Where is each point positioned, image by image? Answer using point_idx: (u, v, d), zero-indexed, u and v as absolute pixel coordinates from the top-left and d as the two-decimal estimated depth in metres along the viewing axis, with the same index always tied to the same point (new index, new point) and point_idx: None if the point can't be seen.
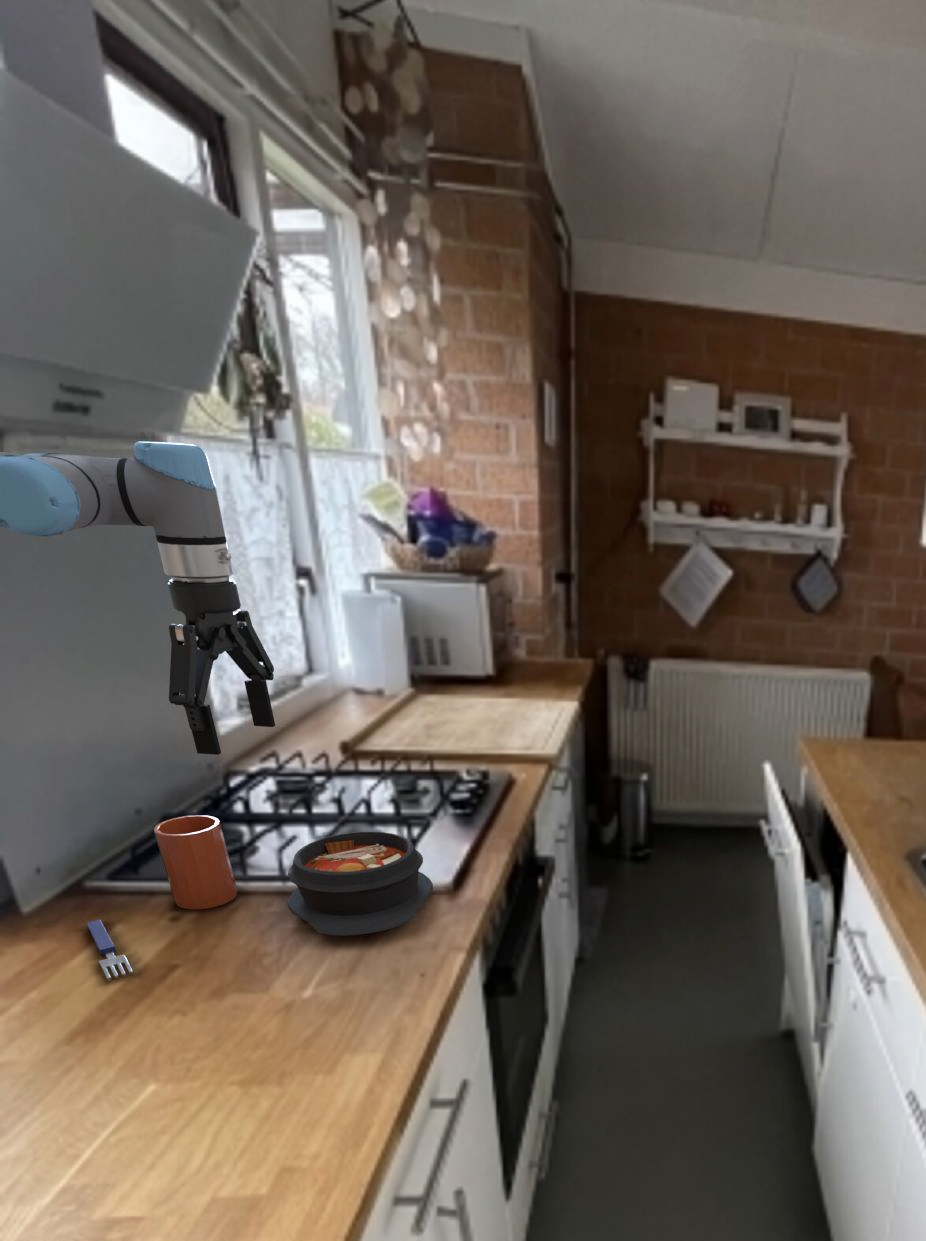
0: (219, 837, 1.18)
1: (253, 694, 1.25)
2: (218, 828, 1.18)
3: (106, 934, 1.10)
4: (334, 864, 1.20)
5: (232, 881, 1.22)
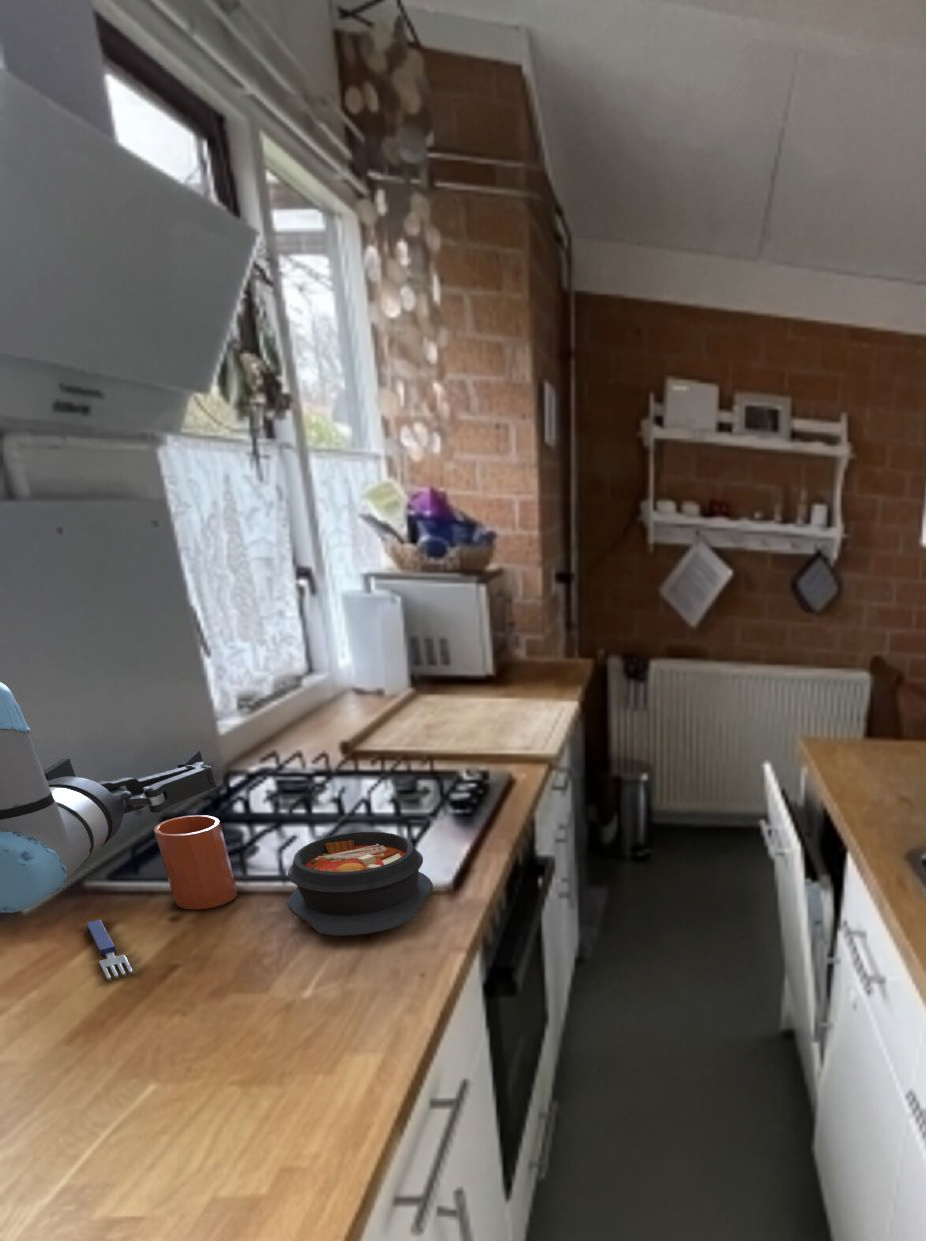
0: (219, 837, 1.18)
1: None
2: (218, 828, 1.18)
3: (106, 934, 1.10)
4: (334, 864, 1.20)
5: (232, 881, 1.22)
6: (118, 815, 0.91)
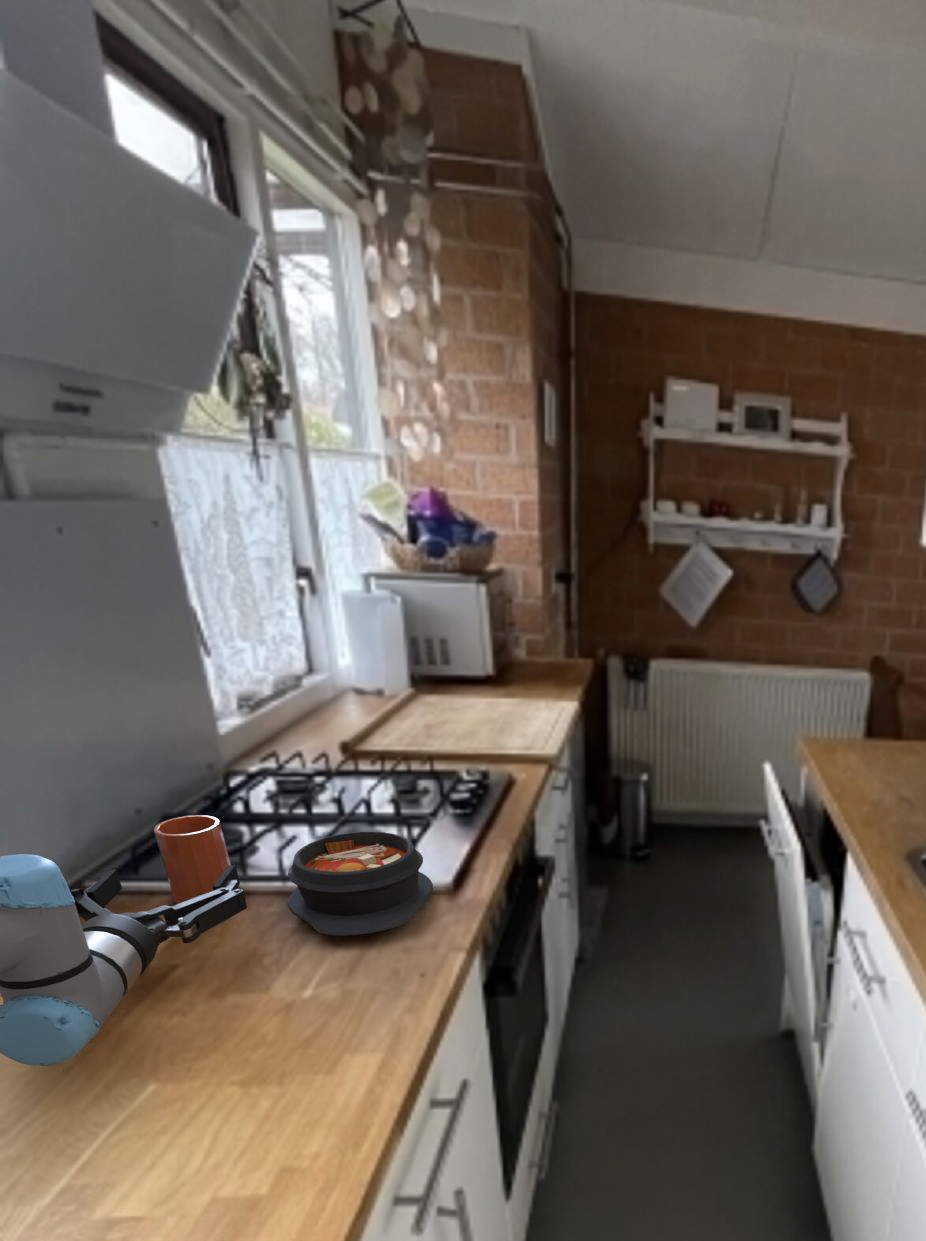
0: (219, 837, 1.18)
1: None
2: (218, 828, 1.18)
3: None
4: (334, 864, 1.20)
5: None
6: (153, 949, 0.98)
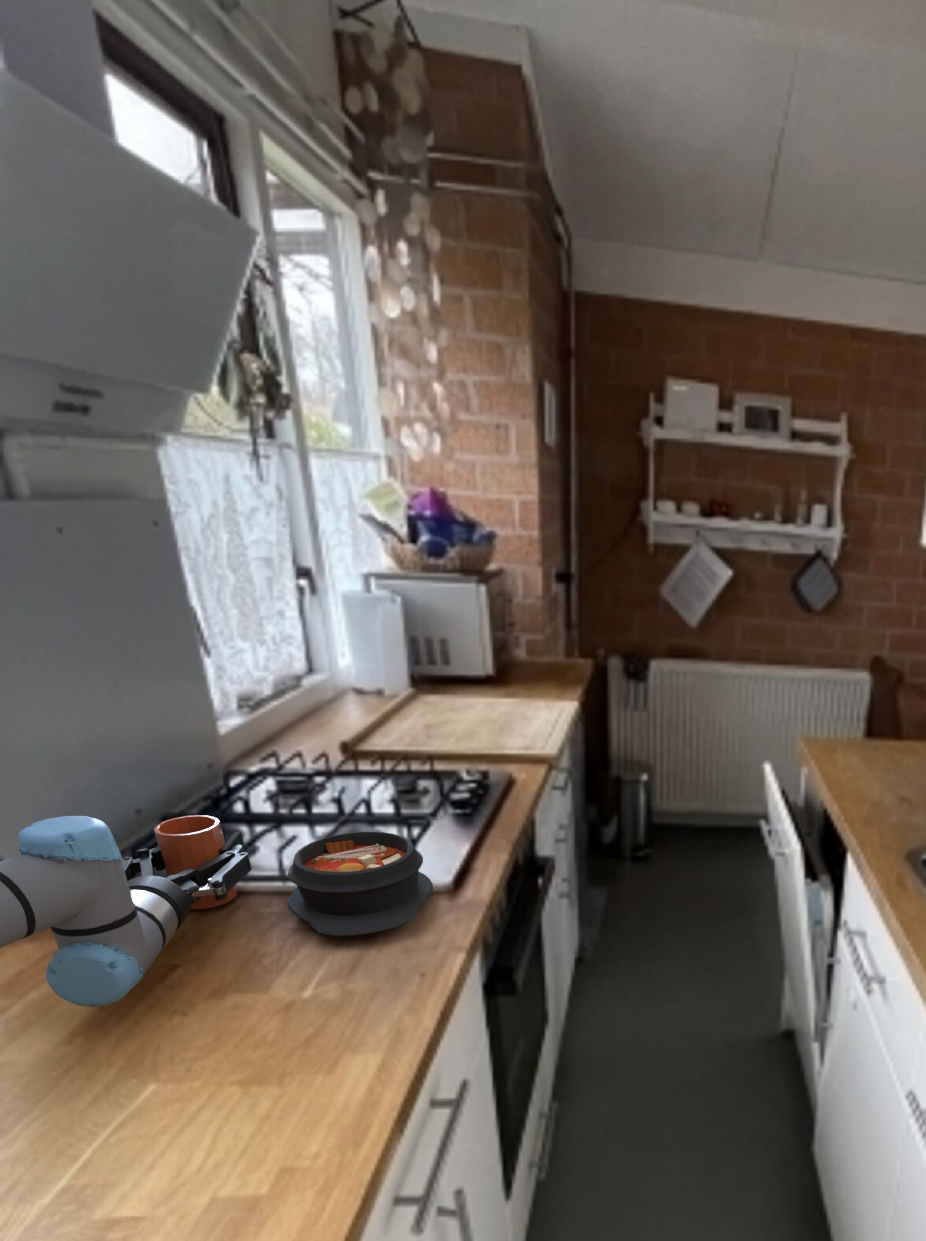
0: (219, 837, 1.18)
1: None
2: (218, 828, 1.18)
3: None
4: (334, 864, 1.20)
5: None
6: (186, 908, 1.07)
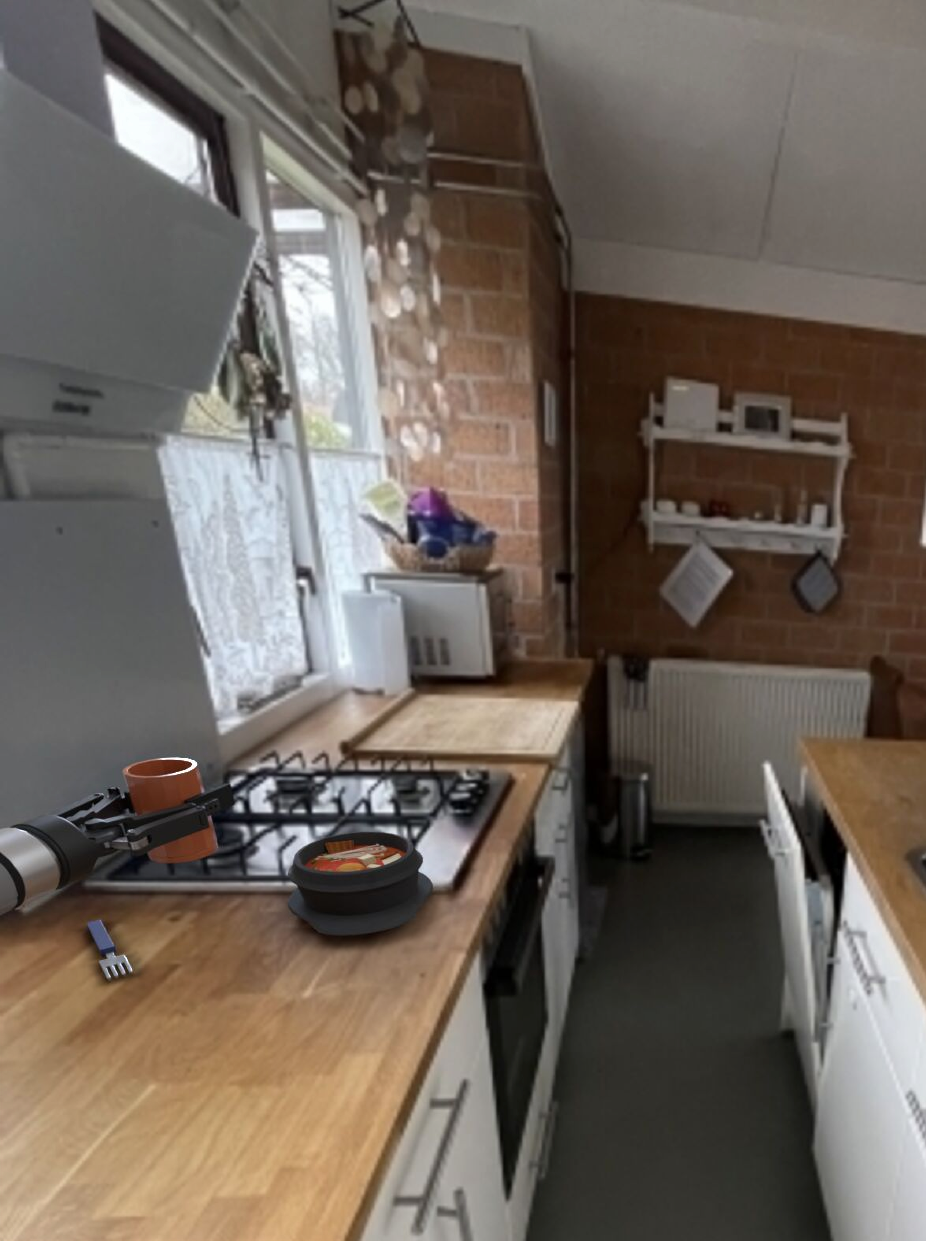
0: (187, 786, 1.04)
1: None
2: (187, 775, 1.04)
3: (106, 934, 1.10)
4: (334, 864, 1.20)
5: (204, 837, 1.07)
6: (85, 859, 0.92)
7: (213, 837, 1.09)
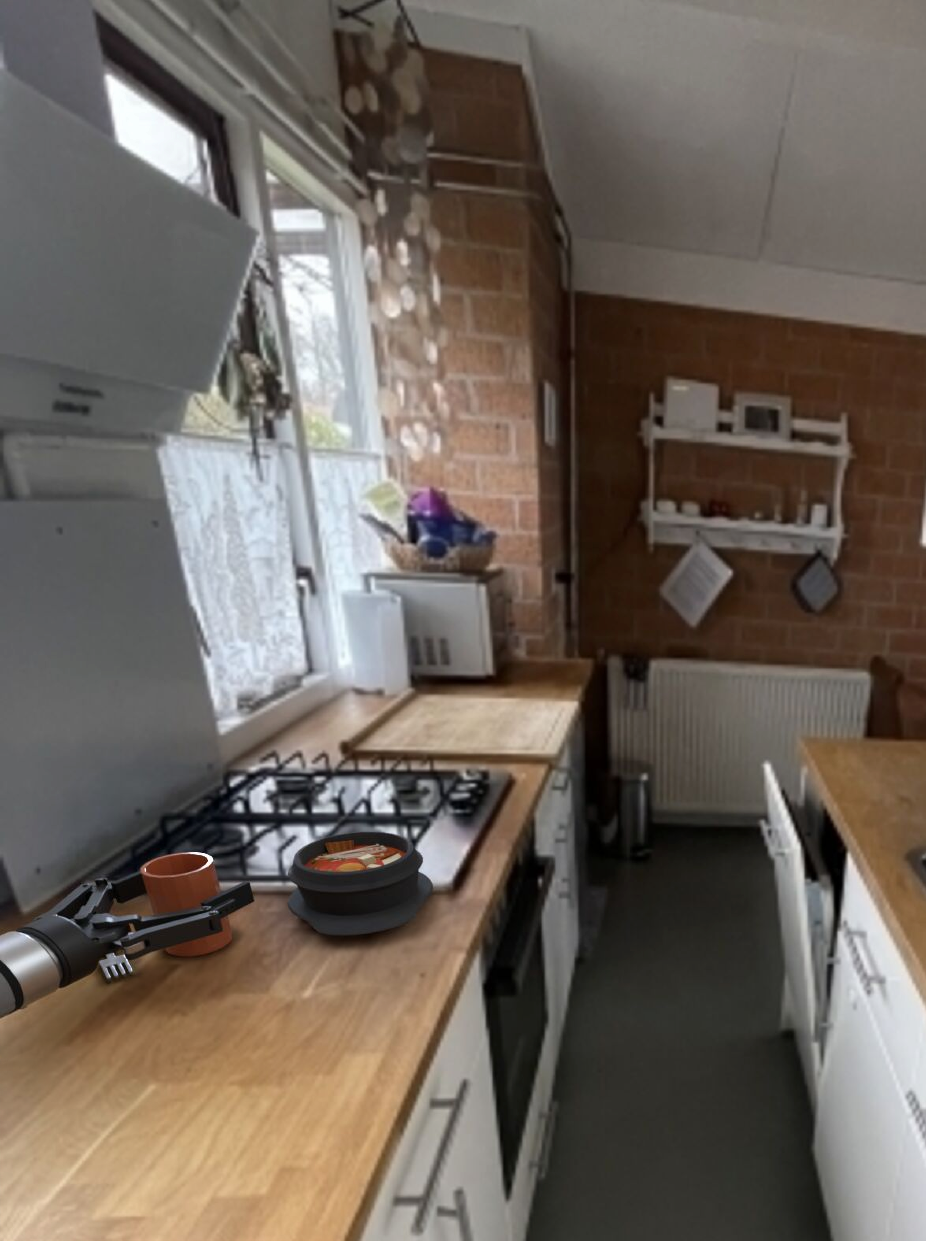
0: (200, 884, 1.06)
1: None
2: (201, 874, 1.06)
3: None
4: (334, 864, 1.20)
5: None
6: (87, 960, 0.94)
7: (227, 930, 1.11)
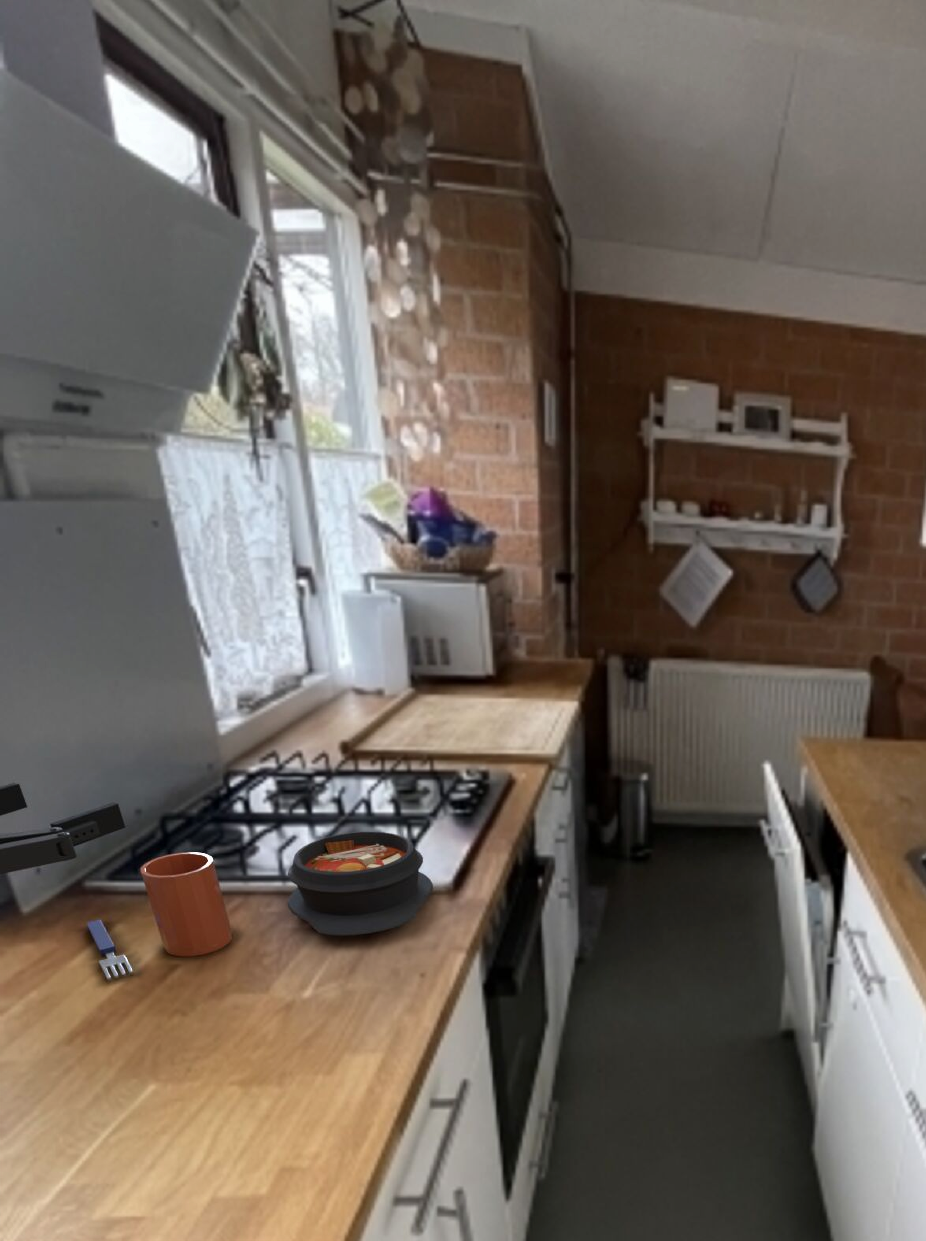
0: (200, 884, 1.06)
1: None
2: (201, 874, 1.06)
3: (106, 934, 1.10)
4: (334, 864, 1.20)
5: (217, 931, 1.10)
6: None
7: (227, 930, 1.11)
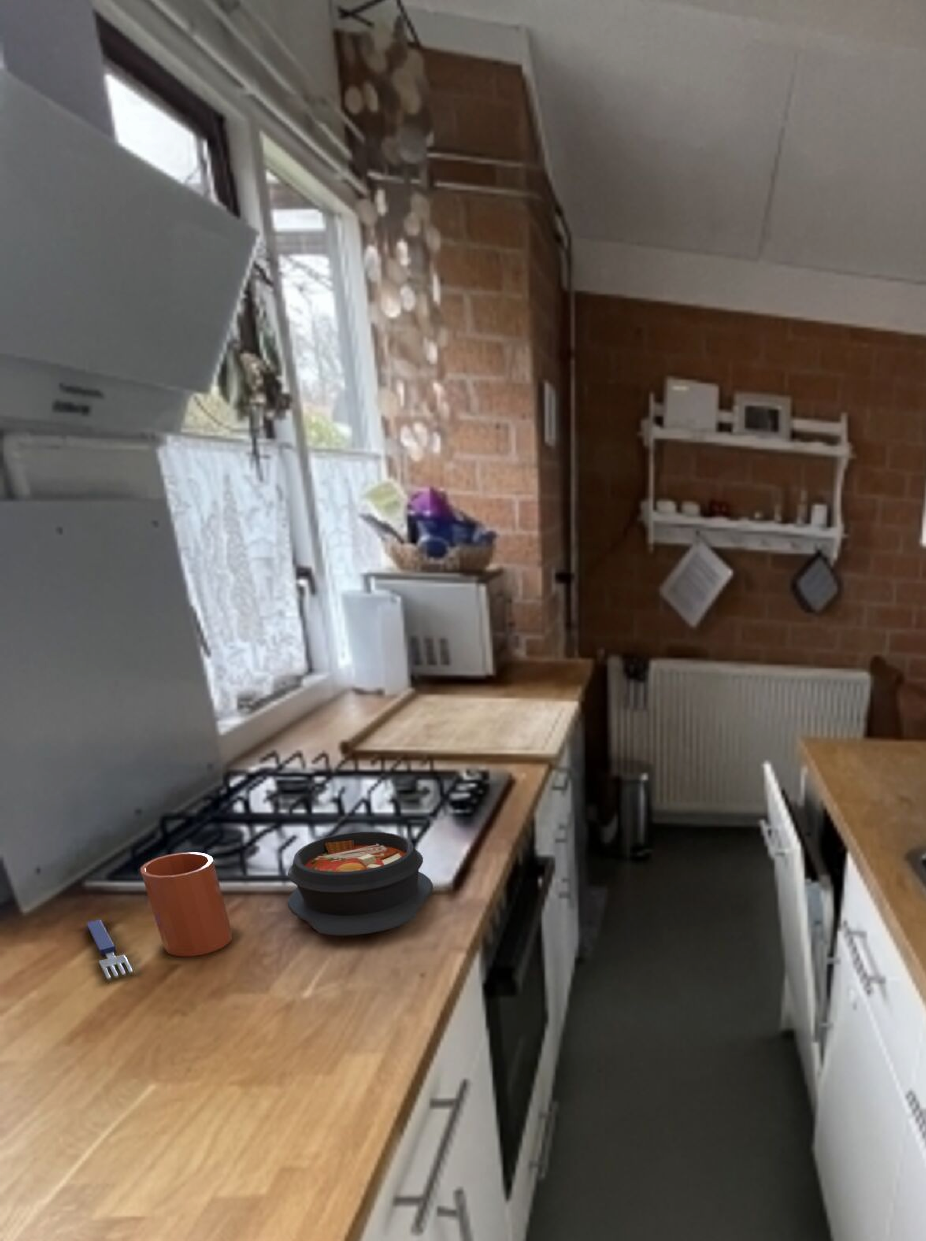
0: (200, 884, 1.06)
1: None
2: (201, 874, 1.06)
3: (106, 934, 1.10)
4: (334, 864, 1.20)
5: (217, 931, 1.10)
6: None
7: (227, 930, 1.11)
